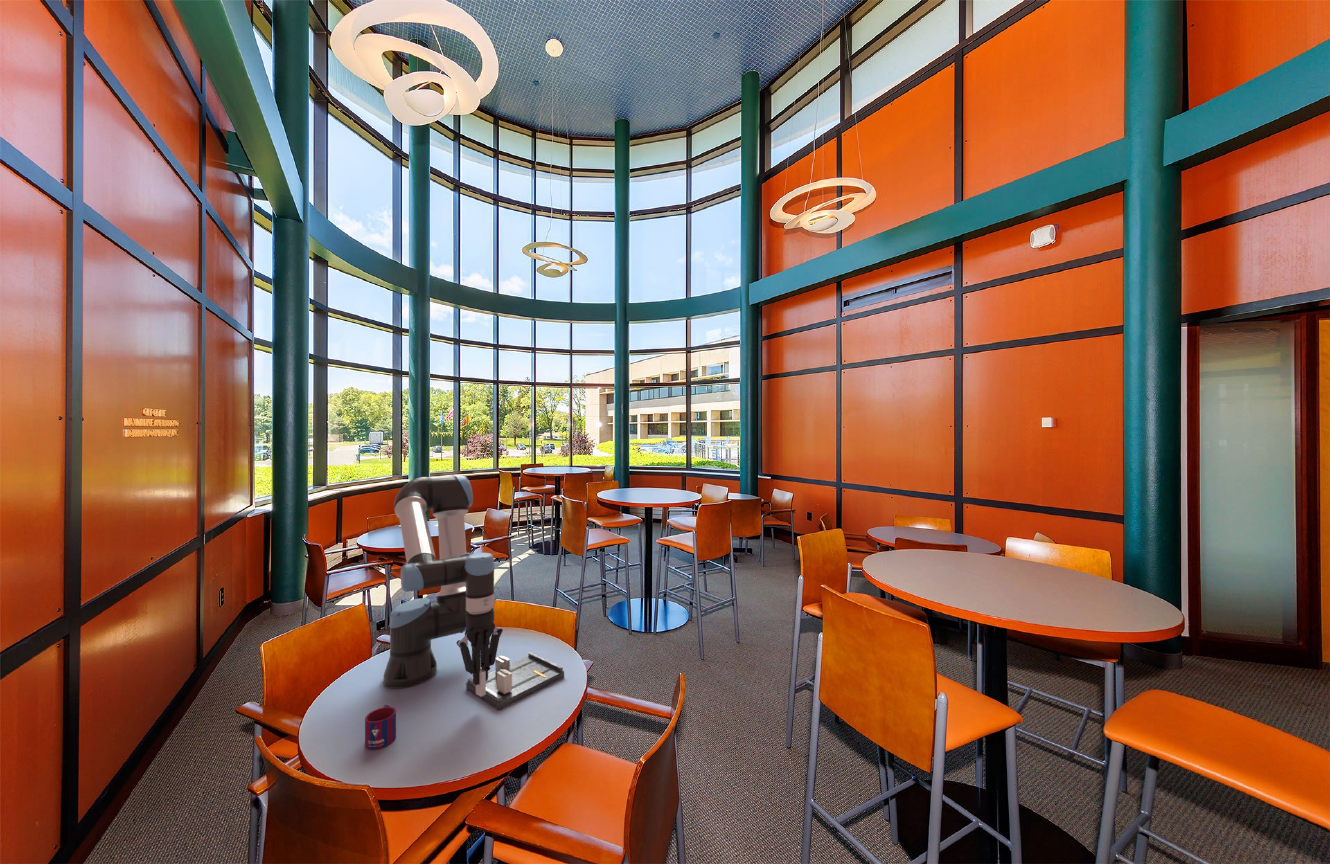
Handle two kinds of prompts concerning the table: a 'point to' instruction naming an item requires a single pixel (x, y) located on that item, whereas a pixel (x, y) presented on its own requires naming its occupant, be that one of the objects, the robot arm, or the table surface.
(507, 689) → the fader tab
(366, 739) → the mug
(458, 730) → the table surface
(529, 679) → the console
